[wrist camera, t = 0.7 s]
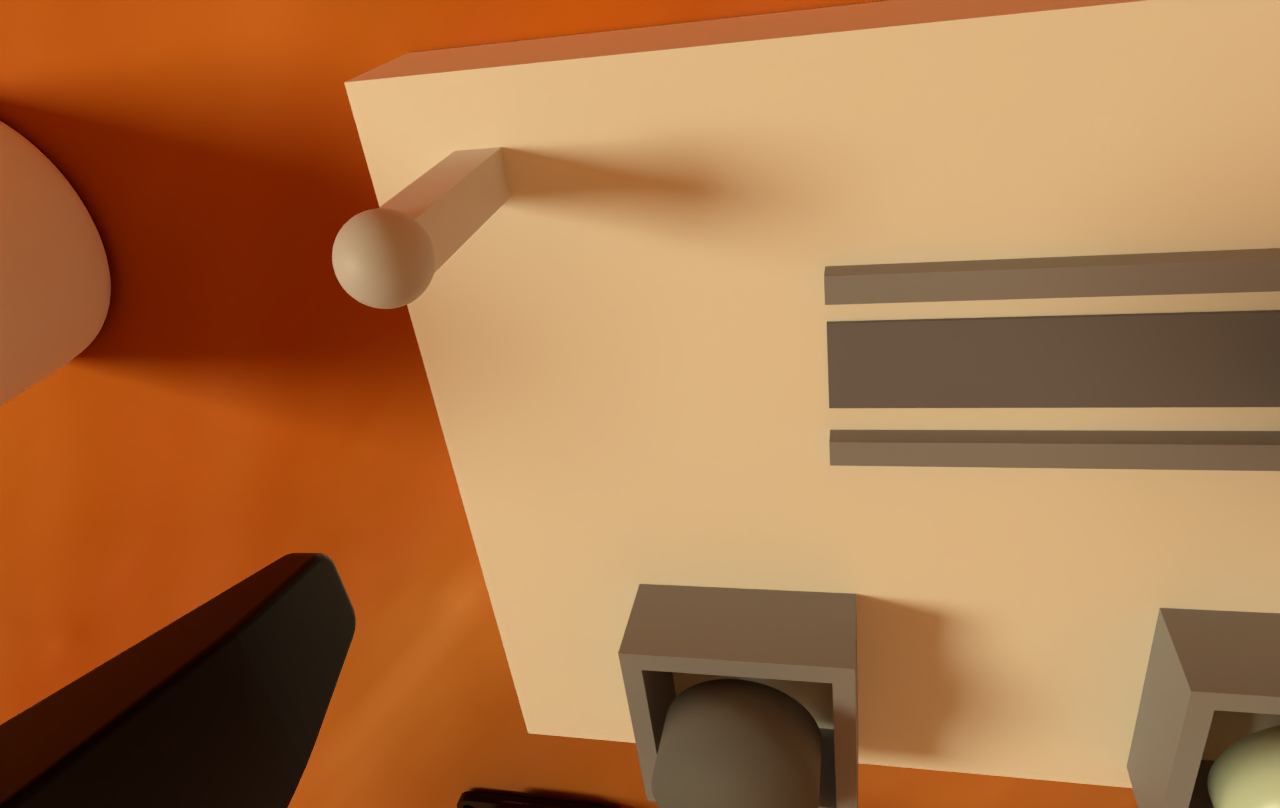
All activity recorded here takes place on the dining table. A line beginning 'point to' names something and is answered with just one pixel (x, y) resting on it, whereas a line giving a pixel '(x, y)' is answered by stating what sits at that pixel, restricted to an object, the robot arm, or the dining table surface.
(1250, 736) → the pale yellow button
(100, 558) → the dining table surface
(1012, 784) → the dining table surface
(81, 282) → the pill bottle
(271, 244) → the dining table surface
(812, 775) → the grey dome
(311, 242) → the dining table surface
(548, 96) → the console
